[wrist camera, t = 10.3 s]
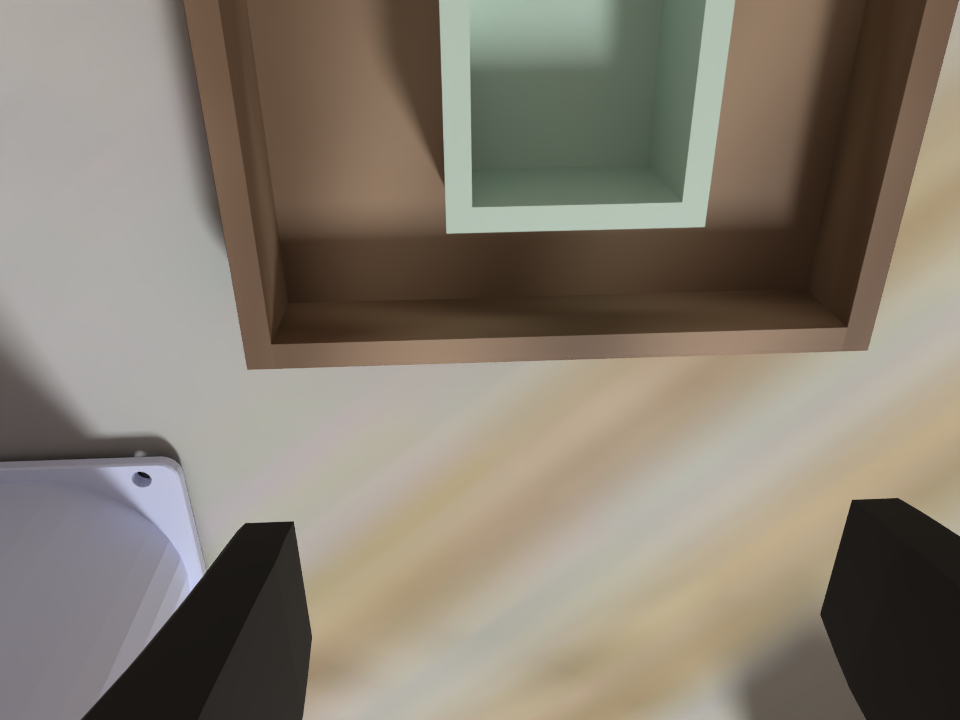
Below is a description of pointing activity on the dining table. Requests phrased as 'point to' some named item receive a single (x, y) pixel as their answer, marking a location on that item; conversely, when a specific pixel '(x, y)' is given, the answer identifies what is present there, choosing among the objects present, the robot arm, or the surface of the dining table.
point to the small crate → (580, 112)
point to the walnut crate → (554, 254)
